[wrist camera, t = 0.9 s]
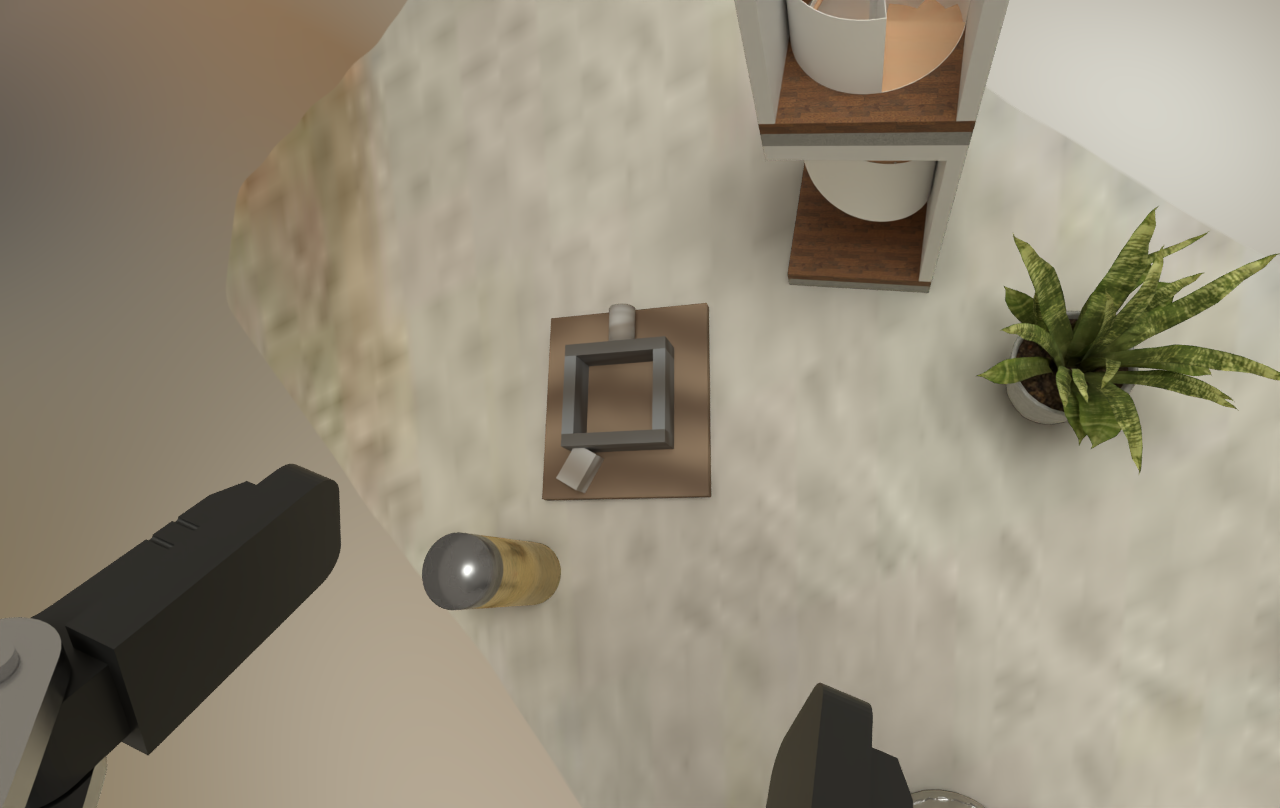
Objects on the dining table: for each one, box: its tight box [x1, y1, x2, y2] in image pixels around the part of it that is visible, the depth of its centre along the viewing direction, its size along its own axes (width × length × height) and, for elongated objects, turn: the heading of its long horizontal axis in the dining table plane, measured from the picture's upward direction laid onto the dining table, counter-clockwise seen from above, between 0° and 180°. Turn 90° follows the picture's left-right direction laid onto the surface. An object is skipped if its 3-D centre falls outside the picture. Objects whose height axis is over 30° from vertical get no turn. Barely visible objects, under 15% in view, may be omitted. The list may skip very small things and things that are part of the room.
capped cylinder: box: [422, 533, 561, 610], centre depth 51 cm, size 5×5×12 cm
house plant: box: [977, 207, 1280, 474], centre depth 41 cm, size 14×14×16 cm
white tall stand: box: [734, 0, 1009, 293], centre depth 39 cm, size 11×11×35 cm
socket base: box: [542, 303, 711, 500], centre depth 56 cm, size 16×14×4 cm
